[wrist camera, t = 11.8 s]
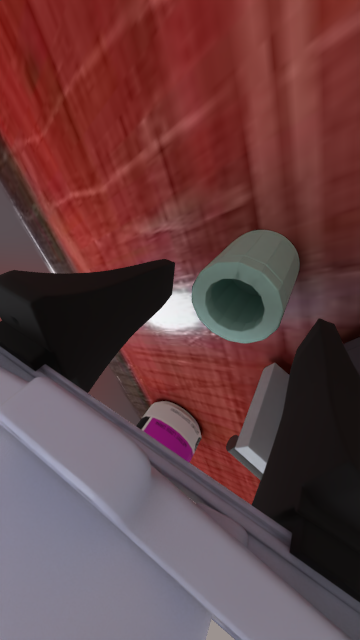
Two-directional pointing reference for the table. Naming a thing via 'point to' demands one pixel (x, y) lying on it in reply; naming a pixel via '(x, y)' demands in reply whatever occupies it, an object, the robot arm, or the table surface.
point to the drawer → (269, 415)
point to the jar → (247, 287)
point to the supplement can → (172, 428)
